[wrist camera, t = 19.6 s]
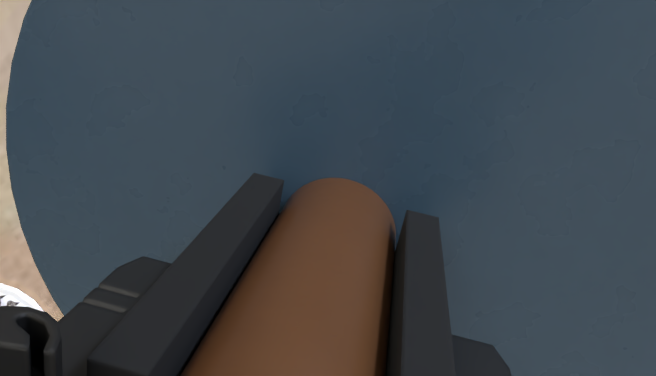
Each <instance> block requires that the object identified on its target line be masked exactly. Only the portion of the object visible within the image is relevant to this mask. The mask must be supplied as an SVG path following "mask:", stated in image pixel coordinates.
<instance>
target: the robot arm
mask: <svg viewBox="0 0 656 376" xmlns="http://www.w3.org/2000/svg"><path fill="white" fill-rule="evenodd" d="M283 185H284V180H282V179H278V178H274V177H270V176H265V175H261V174H257V173H253V174H252V175H251V176H250V178H249V179H248V180H247V181H246V182H245V183H244V184H243V185H242V186H241V188H240V189H239V190H238V191H237V192H236V193H235V194H234V195H233V196H232V198H231V199H230V200H229V201H228V202H227V203H226V204H225V205H224V206H223V208H222V209H221V210H220V211H219V212H218V213H217V214H216V215H215V216H214V218H213V219H212V220H211V221H210V222H209V223H208V224H207V225H206V226H205V228H204V229H203V230H202V231H201V232H200V233H199V234H198V235H197V236H196V238H195V239H194V240H193V241H192V242H191V243H190V244H189V245H188V246H187V248H186V249H185V250H184V251H183V252H182V253H181V254H180V255H179V256H178V257H177V259H176V260H175V261H174V262H173V263H172V264H171V263H168V262H164V261H160V260H156V259H152V258H148V257H145V256H142V257H140V258H137V259H135V260H133V261H131V262H128V263H126V264H124V265H122V266H119V267H117V268H116V269H115V270H114V271H113V272H112V273H111V274H110V275H108V276H107V277H106V278H105V279H104V280H103V281H102V282H101V283H100V284H99V286H98V288H96V287H95V288H94V289H93V290H92V291H91V292H90V293H89V294H88V295H87V296H86V297H84V300H83V302H79V303H78V304H77V305H76V306H75V307H74V308H72V309H71V310H70V311H69V312H68V313H67V314H66V315H65V316H64V317H63V318H62V319H61V320H59V321H58V322H57V321H56V320H55V319H53V318H52V317H51V316H50V315H49V314H48V313H46V312H43V311H40V310H37V309H34V308H31V307H23V306H0V376H180V375H181V373H182V372H183V370H184V369H185V367H186V365H187V364H188V362H189V360H190V359H191V357H192V355H193V354H194V352H195V351H196V349H197V347H198V346H199V344H200V342H201V341H202V339H203V338H204V336H205V334H206V333H207V331H208V329H209V328H210V326H211V325H212V323H213V321H214V320H215V318H216V316H217V315H218V313H219V312H220V310H221V308H222V307H223V305H224V303H225V302H226V300H227V299H228V297H229V295H230V294H231V292H232V290H233V289H234V287H235V285H236V284H237V282H238V281H239V279H240V277H241V276H242V274H243V272H244V271H245V269H246V268H247V266H248V264H249V263H250V261H251V259H252V258H253V256H254V255H255V253H256V251H257V250H258V248H259V246H260V245H261V243H262V242H263V240H264V238H265V237H266V235H267V233H268V232H269V230H270V228H271V227H272V225H273V224H274V222H275V220H276V219H277V217H278V215H279V209H280V203H281V197H282V191H283ZM385 376H511V372H510V368H509V367H508V366H507V364H506V363H505V361H504V360H503V359H502V357H501V356H500V354H499V353H498V352H497V350H496V349H495V347H494V346H493V345H490V344H487V343H483V342H479V341H475V340H471V339H467V338H464V337H460V336H456V335H452V334H451V326H450V316H449V307H448V298H447V289H446V280H445V270H444V261H443V252H442V243H441V234H440V224H439V217H435V216H431V215H427V214H423V213H419V212H414V211H410V210H407V211H406V214H405V218H404V221H403V225H402V228H401V232H400V235H399V239H398V243H397V246H396V250H395V255H394V268H393V282H392V295H391V308H390V322H389V335H388V348H387V362H386V375H385Z"/></svg>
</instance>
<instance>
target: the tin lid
mask: <svg viewBox="0 0 656 376" xmlns="http://www.w3.org/2000/svg"><path fill="white" fill-rule="evenodd" d="M6 150H7V157H8V165H9V172H10V180H11V188H12V192H13V196H14V200H15V204H16V208H17V212H18V216H19V220H20V224H21V228H22V230H23V233H24V236H25V238H26V241H27V244H28V246H29V249H30V251H31V254H32V257H33V259H34V262H35V264H36V267H37V268H38V270H39V272H40V274H41V276H42V278H43V280H44V282H45V284H46V286H47V288H48V290H49V292H50V294H51V296H52V298H53V299H54V301H55V303H56V304H57V306H58V307H59V309H60V310H61V312H62V313H63V315H64V316H65V315H66V314H67V313H68V312H69V311H70V310H71V309H72V308H74V307H75V306H76V305H77V304H78V303H79V302H83V300H84V297H86V296H87V295H88V294H89V293H90V292H91V291H92V290H93V289H94V288H95V287H96V288H98V286H99V284H100V283H101V282H102V281H103V280H104V279H105V278H106V277H107V276H108V275H110V274H111V273H112V272H113V271H114V270H115V269H116V268H117V267H119V266H122V265H124V264H126V263H128V262H131V261H133V260H135V259H137V258H140V257H142V256H145V257H148V258H152V259H156V260H160V261H164V262H168V263H171V264H172V263H173V262H174V261H175V260H176V259H177V257H178V256H179V255H180V254H181V253H182V252H183V251H184V250H185V249H186V248H187V246H188V245H189V244H190V243H191V242H192V241H193V240H194V239H195V238H196V236H197V235H198V234H199V233H200V232H201V231H202V230H203V229H204V228H205V226H206V225H207V224H208V223H209V222H210V221H211V220H212V219H213V218H214V216H215V215H216V214H217V213H218V212H219V211H220V210H221V209H222V208H223V206H224V205H225V204H226V203H227V202H228V201H229V200H230V199H231V198H232V196H233V195H234V194H235V193H236V192H237V191H238V190H239V189H240V188H241V186H242V185H243V184H244V183H245V182H246V181H247V180H248V179H249V178H250V176H251V175H252V174H253V173H257V174H261V175H265V176H270V177H274V178H278V179H282V180H284V185H283V191H282V197H281V203H280V209H279V215H278V217H277V219H276V220H275V222H274V224H273V225H272V227H271V228H270V230H269V232H268V233H267V235H266V237H265V238H264V240H263V242H262V243H261V245H260V246H259V248H258V250H257V251H256V253H255V255H254V256H253V258H252V259H251V261H250V263H249V264H248V266H247V268H246V269H245V271H244V272H243V274H242V276H241V277H240V279H239V281H238V282H237V284H236V285H235V287H234V289H233V290H232V292H231V294H230V295H229V297H228V299H227V300H226V302H225V303H224V305H223V307H222V308H221V310H220V312H219V313H218V315H217V316H216V318H215V320H214V321H213V323H212V325H211V326H210V328H209V329H208V331H207V333H206V334H205V336H204V338H203V339H202V341H201V342H200V344H199V346H198V347H197V349H196V351H195V352H194V354H193V355H192V357H191V359H190V360H189V362H188V364H187V365H186V367H185V369H184V370H183V372H182V373H181V375H180V376H385V375H386V362H387V348H388V335H389V322H390V308H391V295H392V282H393V268H394V255H395V250H396V246H397V243H398V239H399V235H400V232H401V228H402V225H403V221H404V218H405V214H406V211H407V210H410V211H414V212H419V213H423V214H427V215H431V216H435V217H439V224H440V234H441V243H442V252H443V261H444V270H445V280H446V289H447V298H448V307H449V316H450V326H451V334H452V335H456V336H460V337H464V338H467V339H471V340H475V341H479V342H483V343H487V344H490V345H493V346H494V347H495V349H496V350H497V352H498V353H499V354H500V356H501V357H502V359H503V360H504V361H505V363H506V364H507V366H508V367H509V368H510V372H511V376H656V0H32V1H31V3H30V6H29V8H28V10H27V12H26V15H25V17H24V20H23V23H22V27H21V31H20V34H19V38H18V42H17V45H16V49H15V53H14V57H13V60H12V65H11V73H10V81H9V88H8V96H7V104H6Z"/></svg>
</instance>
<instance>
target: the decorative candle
mask: <svg viewBox="0 0 656 376" xmlns="http://www.w3.org/2000/svg"><path fill="white" fill-rule="evenodd" d="M0 306H23V307H31V308H34V309H37V310H40V311H43V310H42V308H41V307H40V306H39V305H38V304H37V302H36V301H35V300H34V299H32V298H31V297H29V296H28V295H26V294H25V293H23V292H22V291H20V290H19V289H17V288H14V287H11V286H8V285H4V284H1V283H0ZM43 312H44V311H43Z"/></svg>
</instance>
